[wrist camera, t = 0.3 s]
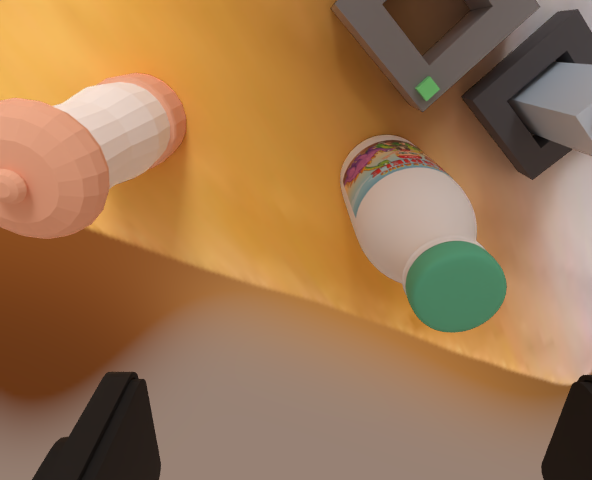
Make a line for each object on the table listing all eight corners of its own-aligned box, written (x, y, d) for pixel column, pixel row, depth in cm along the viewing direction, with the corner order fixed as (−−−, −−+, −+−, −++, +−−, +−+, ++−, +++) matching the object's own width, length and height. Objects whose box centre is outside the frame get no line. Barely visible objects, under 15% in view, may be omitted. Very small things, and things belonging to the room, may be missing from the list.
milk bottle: (427, 206, 39) (541, 346, 21) (346, 222, 40) (389, 371, 22) (420, 124, 36) (547, 206, 18) (332, 143, 37) (368, 241, 19)
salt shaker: (180, 71, 34) (61, 101, 17) (191, 159, 37) (102, 261, 20) (91, 73, 34) (-119, 105, 17) (110, 161, 37) (-50, 264, 20)
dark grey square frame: (558, 11, 32) (577, 9, 30) (611, 98, 35) (633, 102, 33) (461, 96, 35) (472, 100, 33) (518, 171, 38) (532, 179, 35)
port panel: (436, -106, 29) (459, -131, 25) (512, 10, 32) (544, 6, 28) (330, 8, 32) (335, 2, 28) (409, 104, 35) (424, 113, 31)
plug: (545, 61, 34) (644, 68, 24) (569, 98, 35) (673, 118, 25) (502, 97, 35) (581, 117, 25) (528, 131, 36) (612, 163, 27)
